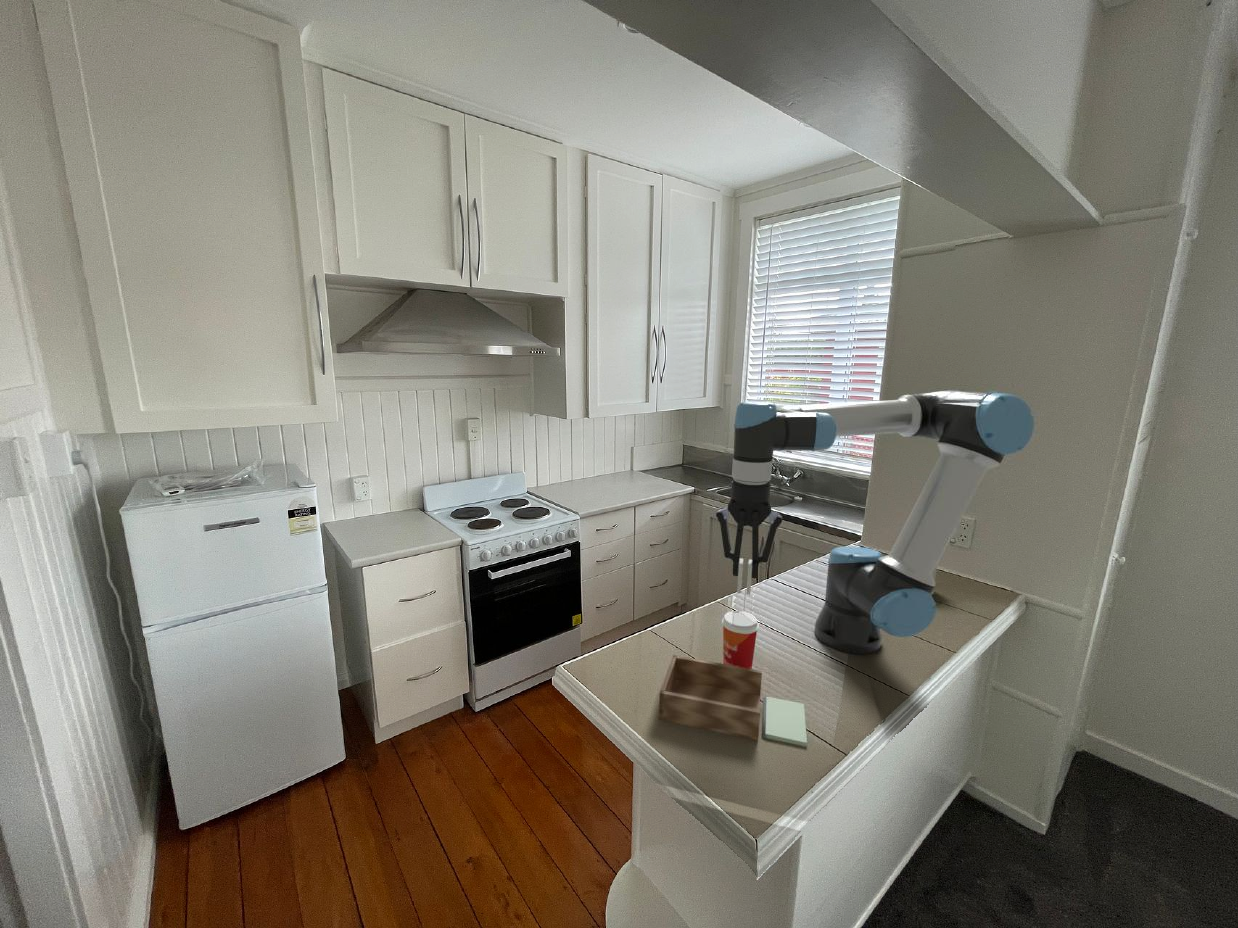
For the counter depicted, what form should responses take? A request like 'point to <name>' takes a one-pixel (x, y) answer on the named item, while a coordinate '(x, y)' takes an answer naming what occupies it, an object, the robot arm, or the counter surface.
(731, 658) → the paper cup
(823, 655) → the counter surface
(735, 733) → the crate
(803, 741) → the book
